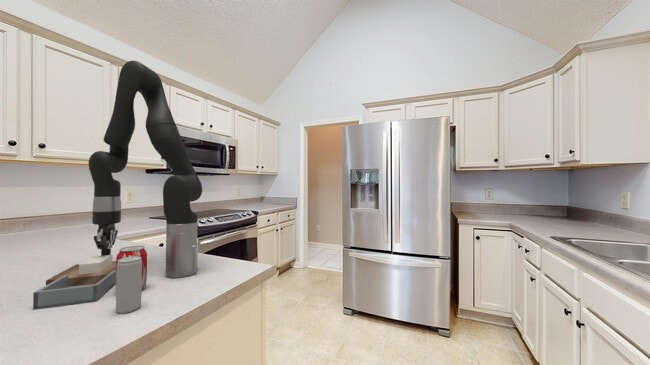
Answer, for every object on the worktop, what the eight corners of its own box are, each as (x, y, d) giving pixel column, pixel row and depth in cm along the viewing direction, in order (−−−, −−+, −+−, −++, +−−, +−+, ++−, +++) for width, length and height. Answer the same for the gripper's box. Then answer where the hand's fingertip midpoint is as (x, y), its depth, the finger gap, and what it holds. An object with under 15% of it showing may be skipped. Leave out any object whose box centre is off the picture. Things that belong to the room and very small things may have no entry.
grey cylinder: (125, 304, 63) (126, 256, 64) (145, 304, 64) (146, 256, 64) (110, 314, 59) (111, 262, 59) (132, 313, 59) (133, 261, 59)
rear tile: (112, 263, 87) (112, 254, 88) (106, 267, 83) (106, 258, 83) (93, 265, 86) (94, 256, 86) (86, 269, 81) (86, 260, 81)
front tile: (106, 267, 83) (106, 258, 83) (99, 272, 78) (100, 262, 78) (87, 269, 81) (87, 260, 81) (78, 274, 76) (79, 264, 76)
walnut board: (133, 268, 92) (133, 259, 92) (116, 283, 77) (116, 273, 77) (76, 273, 86) (76, 264, 86) (45, 291, 71) (45, 280, 71)
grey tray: (116, 283, 77) (116, 270, 77) (96, 301, 65) (96, 285, 65) (64, 289, 73) (64, 275, 73) (33, 309, 61) (33, 292, 61)
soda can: (112, 298, 67) (113, 252, 68) (118, 288, 74) (119, 246, 74) (144, 293, 71) (145, 249, 71) (148, 284, 77) (149, 244, 77)
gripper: (112, 211, 84) (111, 264, 84) (127, 207, 96) (126, 254, 96) (83, 211, 81) (82, 266, 81) (102, 208, 93) (101, 256, 93)
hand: (105, 259), depth 88 cm, fingers closed
